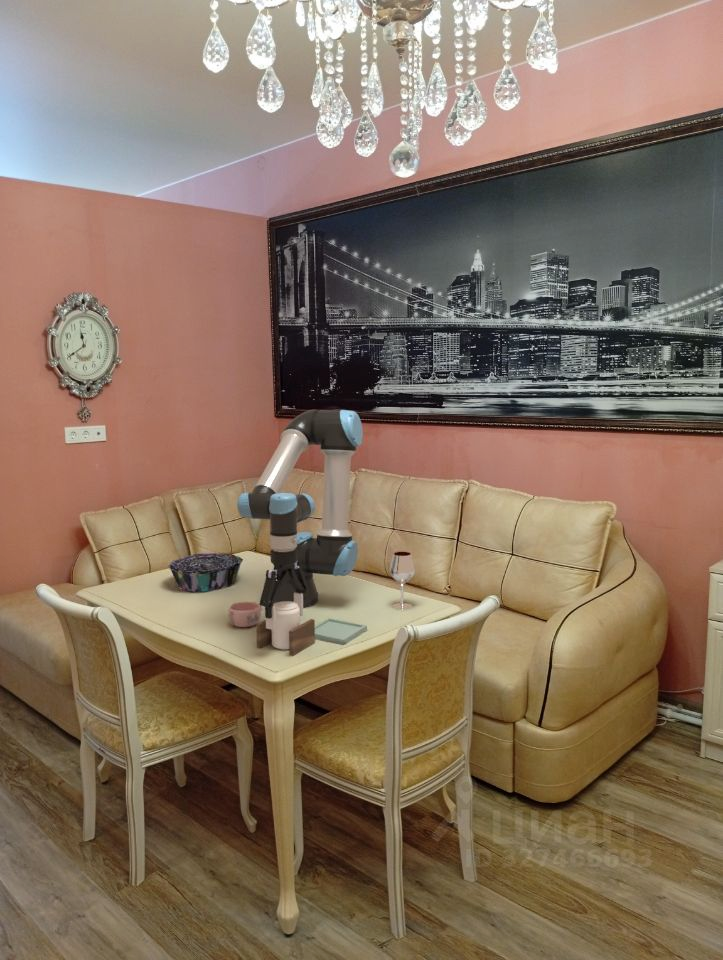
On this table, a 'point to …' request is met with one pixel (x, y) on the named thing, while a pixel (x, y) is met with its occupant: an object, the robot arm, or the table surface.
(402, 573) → the wineglass
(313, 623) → the wooden boards
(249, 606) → the pink bowl
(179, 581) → the decorative bowl
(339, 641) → the tray
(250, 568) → the table surface
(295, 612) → the beverage can
